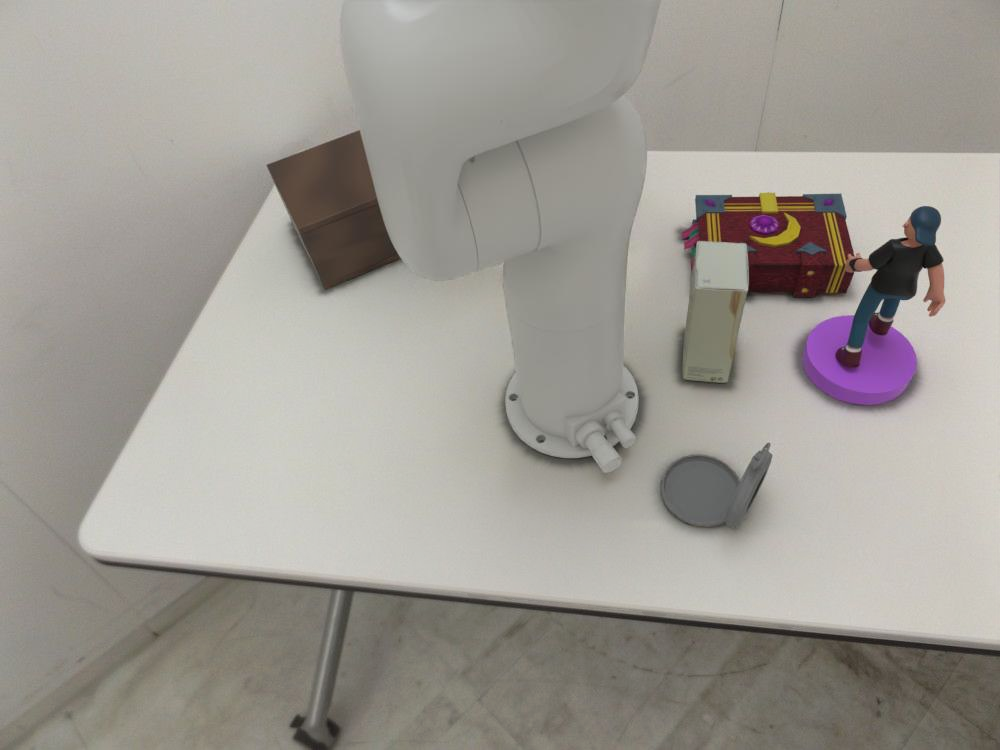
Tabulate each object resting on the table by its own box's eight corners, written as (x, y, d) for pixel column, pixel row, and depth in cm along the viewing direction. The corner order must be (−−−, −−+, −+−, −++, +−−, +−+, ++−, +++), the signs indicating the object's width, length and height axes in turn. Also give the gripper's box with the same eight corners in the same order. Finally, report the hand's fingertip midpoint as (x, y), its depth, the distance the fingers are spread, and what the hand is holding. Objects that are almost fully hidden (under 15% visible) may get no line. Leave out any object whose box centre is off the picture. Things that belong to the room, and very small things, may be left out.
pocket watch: (656, 461, 61) (664, 394, 53) (754, 458, 60) (777, 389, 52) (667, 548, 56) (678, 488, 48) (774, 546, 55) (803, 485, 47)
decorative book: (847, 298, 70) (861, 262, 66) (683, 296, 73) (688, 261, 69) (830, 225, 77) (842, 188, 73) (681, 226, 80) (685, 190, 76)
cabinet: (397, 183, 91) (379, 122, 84) (438, 242, 83) (422, 179, 76) (293, 224, 88) (266, 164, 81) (324, 290, 80) (297, 229, 73)
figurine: (899, 330, 67) (978, 173, 53) (919, 408, 61) (1013, 256, 47) (797, 326, 68) (847, 173, 54) (807, 401, 63) (866, 253, 49)
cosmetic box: (728, 385, 65) (749, 293, 56) (681, 381, 66) (694, 290, 56) (728, 334, 69) (748, 240, 59) (684, 331, 70) (696, 238, 60)
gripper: (315, -32, 60) (370, 150, 74) (485, -87, 63) (506, 98, 78) (292, -59, 64) (348, 118, 79) (452, -108, 68) (478, 70, 82)
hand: (426, 106), depth 78 cm, fingers closed on chocolate bar, 3 cm apart
